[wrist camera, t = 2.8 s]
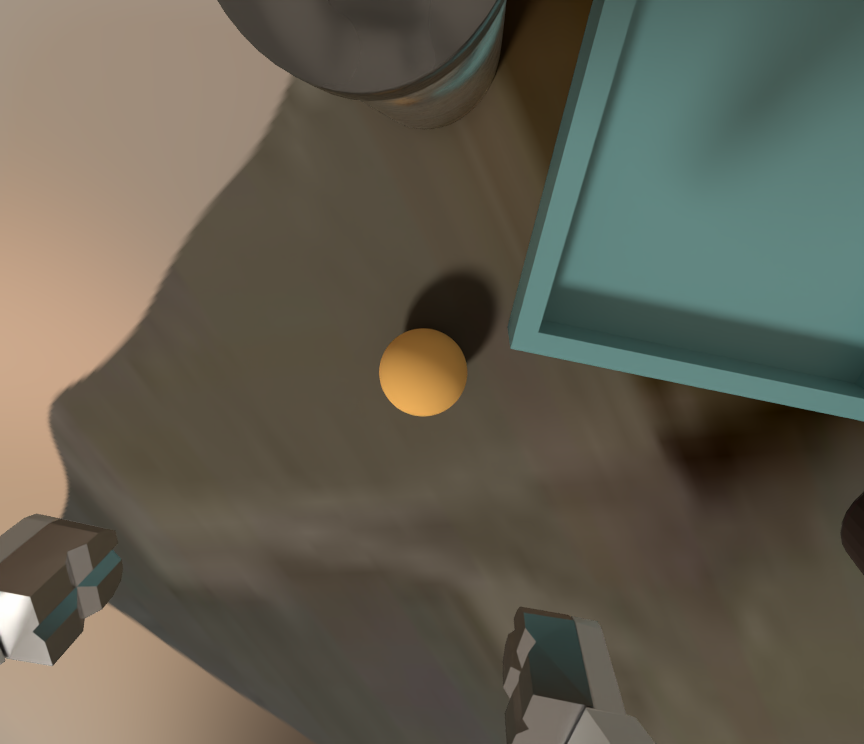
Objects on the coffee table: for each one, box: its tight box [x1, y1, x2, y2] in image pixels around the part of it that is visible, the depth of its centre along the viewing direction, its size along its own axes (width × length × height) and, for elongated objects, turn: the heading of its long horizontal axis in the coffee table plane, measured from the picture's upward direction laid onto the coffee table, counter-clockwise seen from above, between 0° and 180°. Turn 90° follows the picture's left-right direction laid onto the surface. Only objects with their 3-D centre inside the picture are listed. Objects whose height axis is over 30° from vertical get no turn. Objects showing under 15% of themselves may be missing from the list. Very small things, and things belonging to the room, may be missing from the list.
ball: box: [379, 328, 467, 416], centre depth 18 cm, size 4×4×4 cm
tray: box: [508, 0, 864, 421], centre depth 14 cm, size 14×14×2 cm
